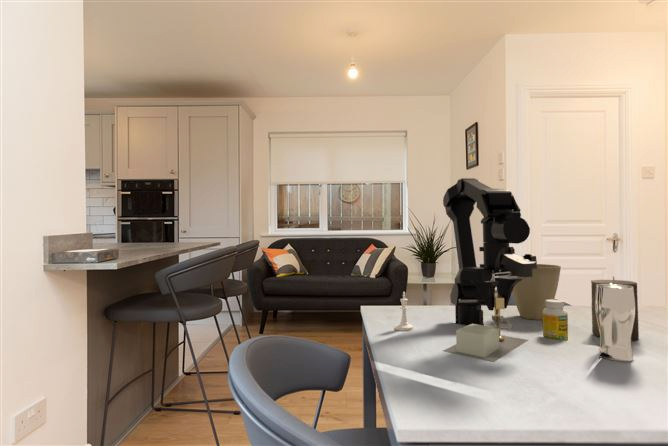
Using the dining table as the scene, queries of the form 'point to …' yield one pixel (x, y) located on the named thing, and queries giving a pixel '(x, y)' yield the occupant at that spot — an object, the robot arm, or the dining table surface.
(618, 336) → the silver metal tumbler
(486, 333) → the cover
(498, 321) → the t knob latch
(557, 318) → the supplement bottle
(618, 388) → the dining table surface
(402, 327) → the chess piece
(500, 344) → the base
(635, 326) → the pillar candle
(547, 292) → the plant pot
